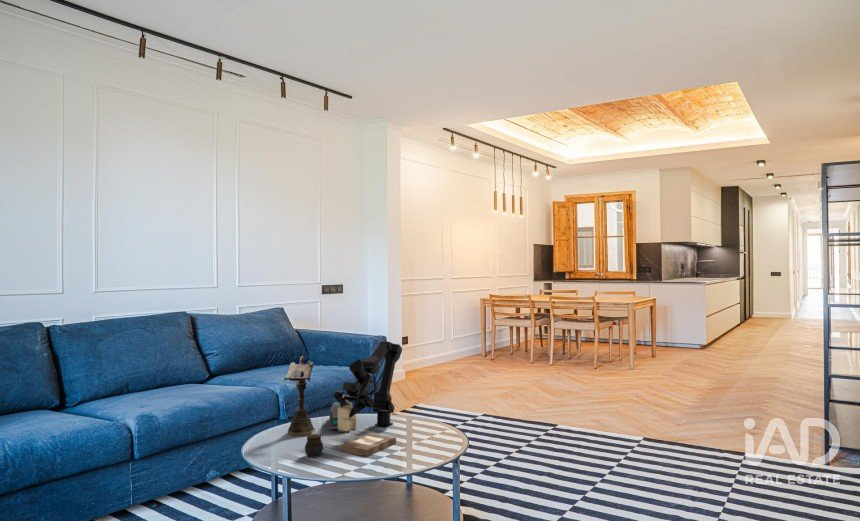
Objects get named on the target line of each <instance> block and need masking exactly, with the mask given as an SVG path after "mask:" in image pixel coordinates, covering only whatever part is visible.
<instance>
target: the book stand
mask: <svg viewBox="0 0 860 521" xmlns="http://www.w3.org/2000/svg"><path fill="white" fill-rule="evenodd" d="M299 360H300V361H299V363H298V364H297V363H296V362H295V361H294V362H293V361H292V362H290V364H289V367H288V372H287V374H286V376H285V377H284V378H283V382H282V383H285V381H290V382H295V385H296V386H295V389H296V390H298V397H297V400H298V407H297V408H296V410H295V413H294V414H293V415H294V416H293V417H292V419H291V422H290V425H289V427H288V430H287V435H289V436H290V437H307V436H308V434H309V435H311V434H315V433H316V428H315V427H314V425H313V423H312V418H311V417H310V416H309V413H308V412H307V409H306V408H305V407H304V403H305V390H306V389H307V385H308V383H307V381H308V382H309V383H311V375H312V372H313V368H314V362H311V360H309V359H308V362H307V364H305V362H304V360H305V355H302V356H300V357H299ZM306 380H307V381H306ZM305 430H306V432H308V434H307V433H306V432H305Z"/></svg>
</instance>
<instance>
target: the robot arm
mask: <svg viewBox="0 0 860 521" xmlns="http://www.w3.org/2000/svg"><path fill="white" fill-rule="evenodd" d="M402 352H403V348H402V346H401V345H400V344H399V343H392V342H391V341H380V342H379V345H378V346H377V347H376V349H375V350H374V351H373V352H372V354H371V355H370V356H369V357H366V358H364V359H363V360H362V359H356V360H355V361H353V362H352V363H351V364H349V371H350V372H351V375H352V376H353V377H354V379H355V382H349V381H347V382H346V381H344V382H343V384H342V388H341V390H342V391H340V390H337V391H335V392H334V393H333V395H332V396H333V398H334V399H335V400H336V402H339V403H340V407H343V406H346V405H348V406H349V404H348V403H347V402H354V404H353V405H352V406H353V408H352V410H351V412H350V415H349V417H350V418H351V417H352V416H354V415H355V414H356V415H357V413H359V412H361V411H362V410H364V409H367V408H369V409H370V408H371V409H372V410H373V413H376V414H377V417H376V419H377V420H376V423H374V426H377V427H383V428H387V427H389V426H392V425H394V422H391V414H394V412H395V405H394V403H393V401H392V400H393V399H392V395H391V393H390V391H391V386H392V381H393V376H394V373H395V372H394V371H395V367H396V366H395V365H396V363H397V362H398V361H399V360H400V358H401V355H402ZM383 359H384V360H385V361H384V362H385V363H384V367H383V371H382V372H383V373H382V376H381V381H380V387H379V390H378V391H375V392H374V393H373V394H374V395H373V398H372V396H370V395H369V394H367V393H368V391H367V389H368V387H369V385H370V384H373V383H374V381H373V377H372V376H371V375H376V373H377V372H378V370H379V364H380V362H381V361H382V360H383ZM344 390H345V391H346V394H347V395H346V394H345V392H344Z"/></svg>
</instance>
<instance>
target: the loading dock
mask: <svg viewBox="0 0 860 521" xmlns="http://www.w3.org/2000/svg"><path fill="white" fill-rule="evenodd" d="M396 443H397V437H396V436H393V435H386V434H379V433H375V432H374V433H373V432H367V433H364V434H362V435H359V436H358V437H355V438H353V439H350V440H347V441H345V442H343V443H340V444H339V452H345V453H349V454H354V455H359V456H366V457H369V456H371V455H373V454H376V453H378V452H380V451H382V450H385V449H386V448H389V447H390V446H393V445H395V444H396Z"/></svg>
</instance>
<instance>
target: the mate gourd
mask: <svg viewBox="0 0 860 521" xmlns="http://www.w3.org/2000/svg"><path fill="white" fill-rule="evenodd" d="M305 432H306V430H305ZM306 433H307V434H308V432H306ZM323 450H324V445H323V442H322V435H321V434H320V433H313V434H311V435H309V434H308V435H307V436H306V443H305V446H304V451H305V454H306V455H307V457H309V458H318V457H320V456H321V455H322V454H323Z"/></svg>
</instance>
